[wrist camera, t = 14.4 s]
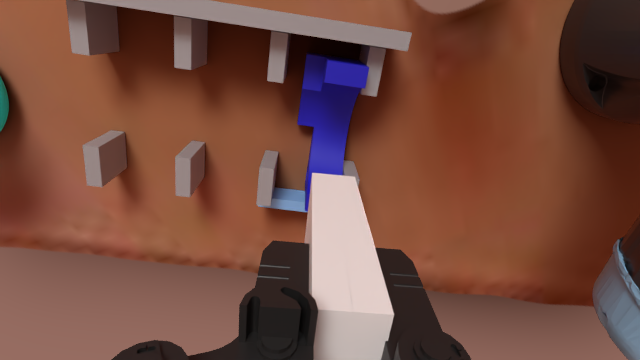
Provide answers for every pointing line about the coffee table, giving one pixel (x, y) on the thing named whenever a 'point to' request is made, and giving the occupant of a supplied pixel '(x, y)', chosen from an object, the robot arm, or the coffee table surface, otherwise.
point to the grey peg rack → (191, 52)
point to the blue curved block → (328, 110)
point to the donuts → (3, 104)
